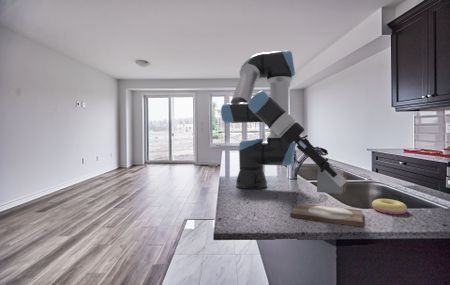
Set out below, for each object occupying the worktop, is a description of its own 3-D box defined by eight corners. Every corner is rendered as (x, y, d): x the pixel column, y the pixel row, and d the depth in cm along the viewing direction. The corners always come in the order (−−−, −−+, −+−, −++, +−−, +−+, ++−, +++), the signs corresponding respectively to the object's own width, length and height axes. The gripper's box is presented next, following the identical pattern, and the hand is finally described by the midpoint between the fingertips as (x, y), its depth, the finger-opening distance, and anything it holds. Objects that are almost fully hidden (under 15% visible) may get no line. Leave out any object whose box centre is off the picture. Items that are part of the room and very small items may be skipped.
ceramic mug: (346, 196, 74) (346, 170, 74) (316, 194, 77) (316, 168, 77) (343, 189, 84) (343, 166, 84) (317, 187, 87) (317, 165, 87)
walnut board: (298, 206, 91) (298, 202, 91) (362, 213, 82) (362, 209, 82) (289, 217, 80) (289, 213, 80) (362, 227, 70) (362, 222, 70)
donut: (387, 212, 90) (365, 210, 88) (387, 199, 91) (365, 197, 89) (414, 216, 81) (390, 214, 79) (414, 201, 82) (390, 199, 80)
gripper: (282, 137, 94) (329, 183, 89) (275, 138, 74) (336, 197, 69) (297, 122, 92) (346, 168, 88) (294, 119, 72) (358, 178, 68)
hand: (341, 181), depth 78 cm, fingers closed on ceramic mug, 8 cm apart
